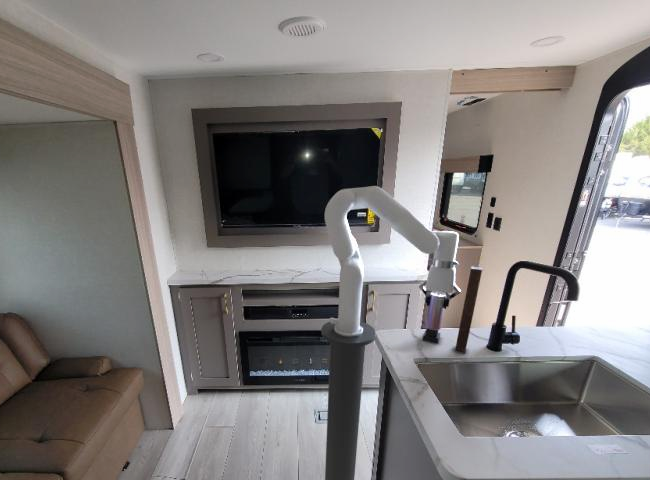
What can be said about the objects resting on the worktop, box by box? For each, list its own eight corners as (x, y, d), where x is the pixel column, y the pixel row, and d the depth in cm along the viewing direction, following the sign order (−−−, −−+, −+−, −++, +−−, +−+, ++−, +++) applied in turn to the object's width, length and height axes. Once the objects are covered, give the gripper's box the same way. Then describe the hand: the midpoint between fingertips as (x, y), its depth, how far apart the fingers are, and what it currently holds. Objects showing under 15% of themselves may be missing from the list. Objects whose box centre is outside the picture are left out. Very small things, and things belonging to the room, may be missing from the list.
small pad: (425, 335, 137) (426, 328, 136) (427, 331, 141) (428, 324, 140) (436, 337, 135) (437, 331, 134) (438, 333, 139) (439, 327, 137)
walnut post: (454, 351, 129) (470, 268, 117) (455, 347, 132) (471, 266, 120) (464, 353, 127) (482, 269, 115) (465, 349, 130) (482, 267, 118)
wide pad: (422, 340, 138) (423, 335, 137) (424, 335, 142) (425, 330, 142) (437, 344, 135) (438, 338, 134) (439, 338, 140) (440, 333, 139)
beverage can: (422, 327, 137) (427, 294, 132) (429, 323, 141) (434, 291, 135) (436, 332, 133) (442, 298, 127) (443, 328, 136) (449, 294, 131)
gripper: (468, 264, 126) (460, 307, 132) (421, 259, 134) (416, 300, 140) (467, 268, 120) (459, 313, 126) (418, 263, 128) (412, 305, 134)
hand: (436, 306), depth 133 cm, fingers closed on beverage can, 6 cm apart
